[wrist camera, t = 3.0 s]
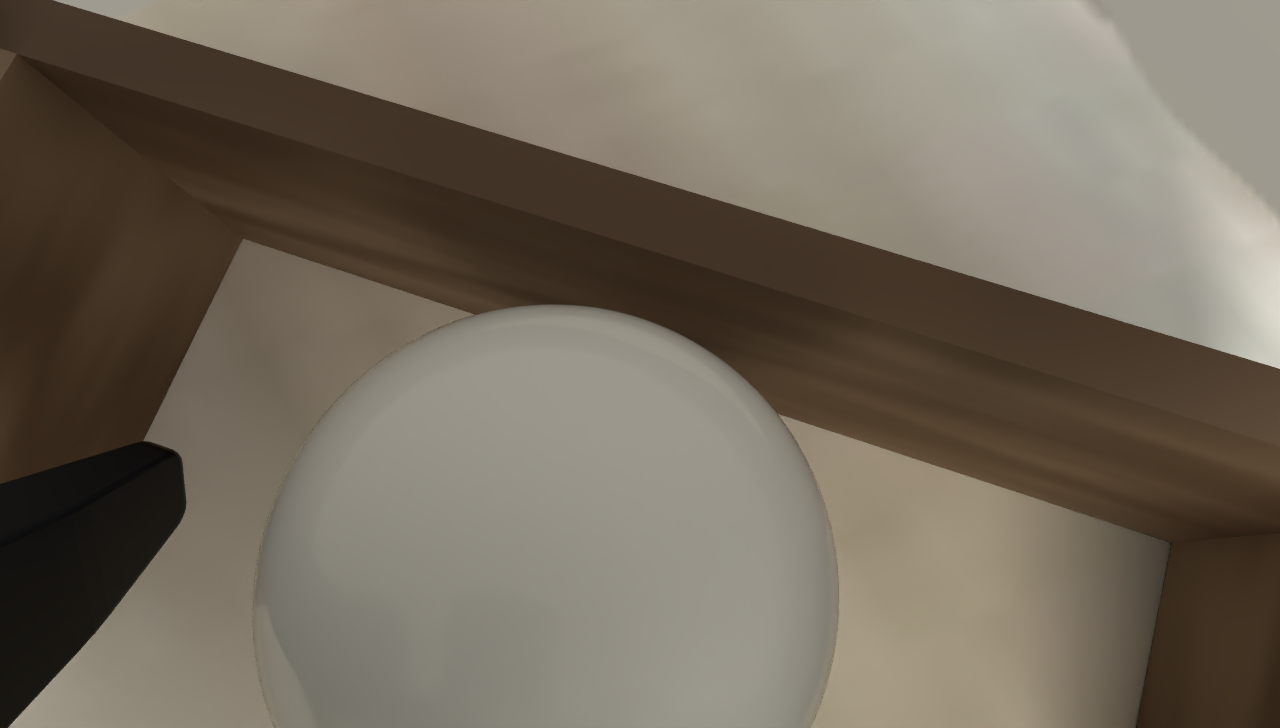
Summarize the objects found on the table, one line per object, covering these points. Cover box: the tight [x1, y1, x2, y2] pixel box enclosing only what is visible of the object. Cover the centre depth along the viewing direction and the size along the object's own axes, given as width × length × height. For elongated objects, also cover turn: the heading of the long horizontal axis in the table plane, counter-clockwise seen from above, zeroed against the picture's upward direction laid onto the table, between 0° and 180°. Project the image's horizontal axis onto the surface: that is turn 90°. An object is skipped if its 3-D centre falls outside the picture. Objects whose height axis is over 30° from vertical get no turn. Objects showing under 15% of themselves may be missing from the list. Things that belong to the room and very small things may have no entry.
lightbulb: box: [253, 304, 839, 728], centre depth 12 cm, size 6×6×11 cm
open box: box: [0, 0, 1280, 728], centre depth 14 cm, size 10×23×7 cm, turn 71°
